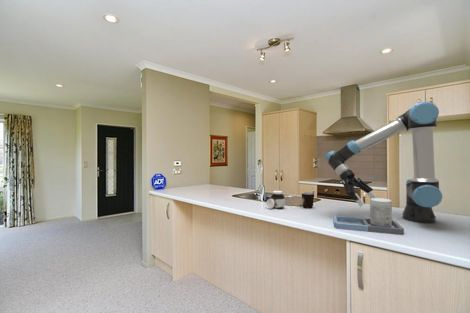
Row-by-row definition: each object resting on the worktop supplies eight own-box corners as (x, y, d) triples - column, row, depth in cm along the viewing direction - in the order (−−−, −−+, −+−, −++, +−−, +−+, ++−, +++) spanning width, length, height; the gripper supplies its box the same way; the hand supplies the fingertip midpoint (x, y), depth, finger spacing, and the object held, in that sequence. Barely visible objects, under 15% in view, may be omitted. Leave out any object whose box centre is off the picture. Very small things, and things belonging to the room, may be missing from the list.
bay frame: (395, 225, 127) (395, 220, 127) (404, 234, 112) (404, 229, 112) (333, 219, 138) (333, 215, 138) (334, 228, 123) (334, 223, 123)
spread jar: (286, 207, 169) (286, 191, 169) (280, 211, 159) (280, 193, 159) (270, 205, 175) (270, 189, 175) (264, 208, 166) (264, 192, 165)
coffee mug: (314, 209, 164) (315, 194, 164) (301, 208, 166) (301, 194, 165) (312, 205, 175) (312, 191, 175) (300, 205, 177) (300, 191, 177)
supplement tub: (372, 224, 129) (372, 197, 129) (393, 227, 123) (393, 199, 123) (367, 228, 122) (367, 199, 122) (389, 232, 116) (389, 202, 116)
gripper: (354, 176, 148) (378, 205, 135) (326, 178, 135) (350, 210, 123) (362, 168, 143) (388, 197, 130) (334, 169, 131) (360, 202, 118)
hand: (370, 203), depth 126 cm, fingers open, 13 cm apart
